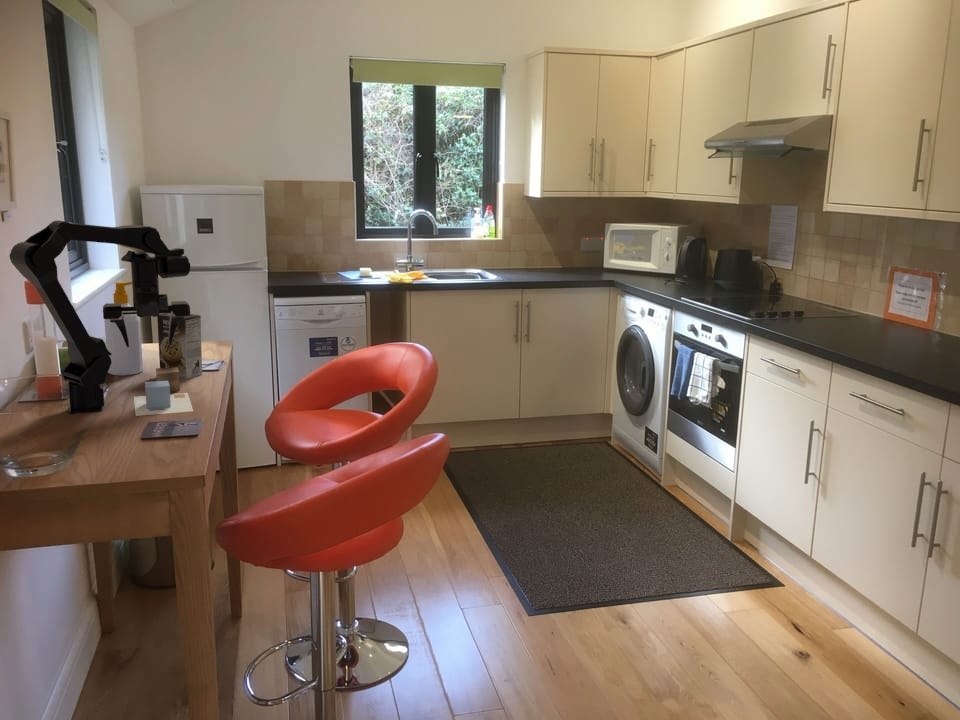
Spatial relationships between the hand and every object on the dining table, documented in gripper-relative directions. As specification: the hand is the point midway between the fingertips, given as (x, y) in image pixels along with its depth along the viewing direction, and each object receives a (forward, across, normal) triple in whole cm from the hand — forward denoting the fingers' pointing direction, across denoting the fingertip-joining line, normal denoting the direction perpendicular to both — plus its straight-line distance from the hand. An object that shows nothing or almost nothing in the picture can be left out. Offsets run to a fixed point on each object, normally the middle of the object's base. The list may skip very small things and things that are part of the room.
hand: (149, 345), depth 193 cm
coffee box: (+12, +8, +18) cm, 23 cm away
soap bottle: (+12, -5, +25) cm, 28 cm away
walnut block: (+12, +4, +4) cm, 13 cm away
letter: (+12, +2, -9) cm, 15 cm away
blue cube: (+12, +1, -10) cm, 15 cm away
